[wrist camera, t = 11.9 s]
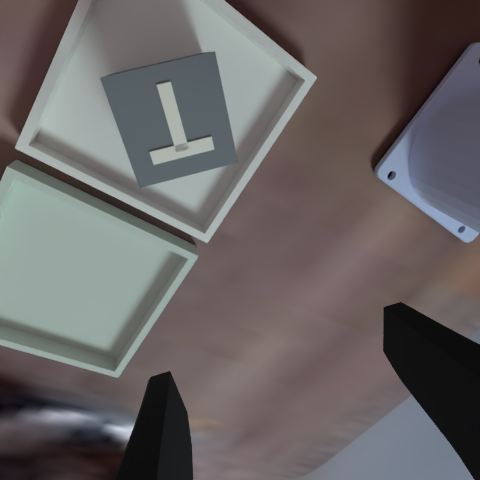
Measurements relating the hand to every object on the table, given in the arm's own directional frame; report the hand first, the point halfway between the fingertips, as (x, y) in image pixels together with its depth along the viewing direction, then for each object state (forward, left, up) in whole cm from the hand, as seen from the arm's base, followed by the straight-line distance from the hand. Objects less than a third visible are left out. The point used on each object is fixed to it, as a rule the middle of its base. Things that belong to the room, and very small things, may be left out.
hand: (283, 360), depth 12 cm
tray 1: (+6, -4, -10) cm, 12 cm away
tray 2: (+6, +6, -10) cm, 13 cm away
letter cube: (+6, -4, -10) cm, 12 cm away
